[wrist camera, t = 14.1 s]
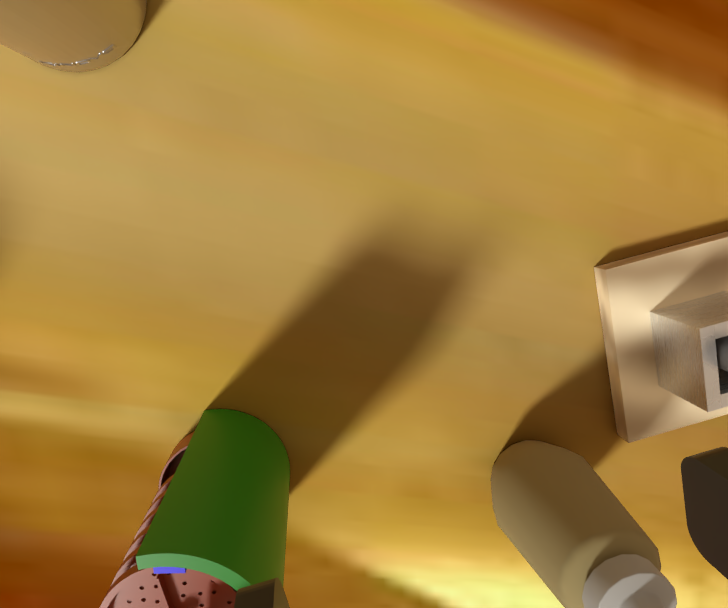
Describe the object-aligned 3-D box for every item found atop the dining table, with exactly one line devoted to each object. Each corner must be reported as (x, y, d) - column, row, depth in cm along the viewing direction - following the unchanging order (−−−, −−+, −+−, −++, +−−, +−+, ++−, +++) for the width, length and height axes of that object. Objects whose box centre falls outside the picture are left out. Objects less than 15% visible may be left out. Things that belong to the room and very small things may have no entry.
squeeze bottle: (496, 415, 41) (644, 581, 23) (587, 437, 42) (793, 611, 25) (462, 507, 42) (579, 730, 25) (552, 526, 43) (724, 750, 26)
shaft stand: (593, 267, 39) (678, 288, 30) (741, 227, 40) (866, 237, 31) (617, 434, 42) (700, 497, 34) (753, 394, 43) (869, 445, 34)
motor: (158, 413, 38) (8, 650, 18) (285, 402, 38) (271, 617, 19) (174, 539, 40) (56, 872, 20) (294, 526, 41) (291, 831, 21)
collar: (649, 311, 39) (699, 328, 34) (724, 290, 39) (784, 304, 34) (658, 385, 40) (707, 412, 35) (730, 364, 41) (789, 388, 36)
